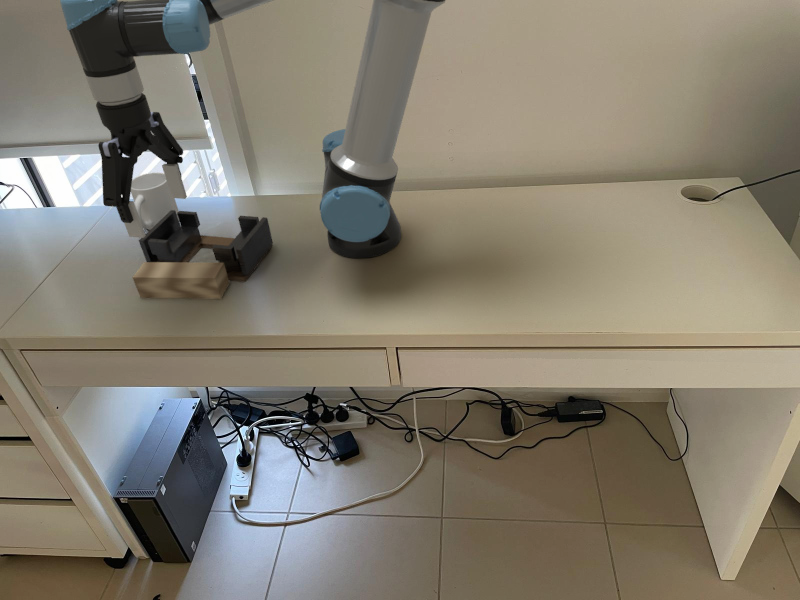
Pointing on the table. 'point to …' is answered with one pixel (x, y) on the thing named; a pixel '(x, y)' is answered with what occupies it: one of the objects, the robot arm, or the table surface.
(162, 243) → the brackets
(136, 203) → the mug
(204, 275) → the rail
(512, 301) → the table surface
